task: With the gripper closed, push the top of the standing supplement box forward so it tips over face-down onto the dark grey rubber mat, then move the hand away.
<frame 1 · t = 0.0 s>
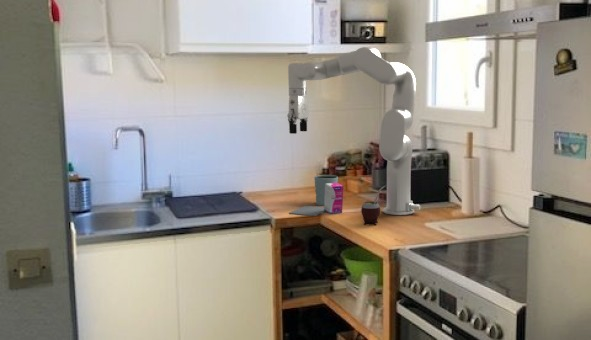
hand: (298, 132, 279), 31 cm above the worktop, tool pointing down, fingers open, 9 cm apart
supplement box: (333, 212, 266), on the worktop, touching mat
mate gourd: (372, 224, 245), on the worktop
mat: (310, 211, 268), on the worktop
grey plant pot: (326, 204, 282), on the worktop
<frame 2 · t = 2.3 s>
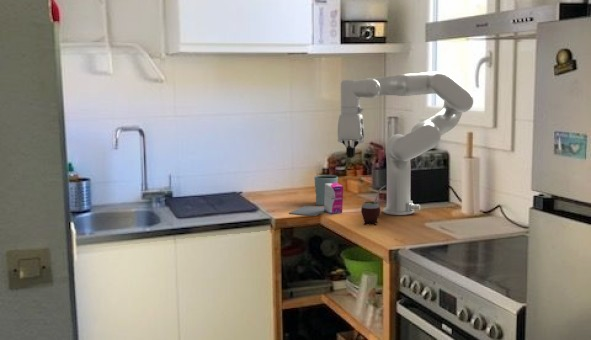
hand: (350, 157, 258), 23 cm above the worktop, tool pointing down, fingers closed
nothing on the worktop moved.
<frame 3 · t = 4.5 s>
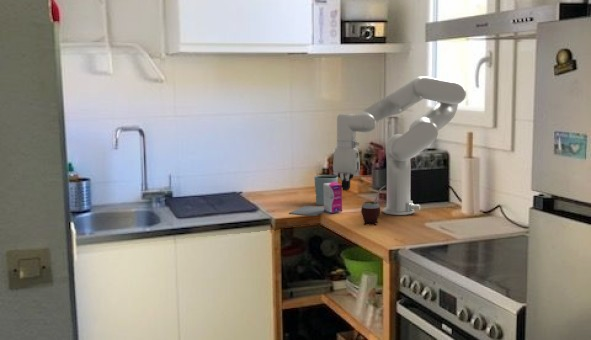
hand: (345, 189, 261), 10 cm above the worktop, tool pointing down, fingers closed
supplement box: (333, 211, 266), on the worktop, touching gripper, mat
everything else where it was.
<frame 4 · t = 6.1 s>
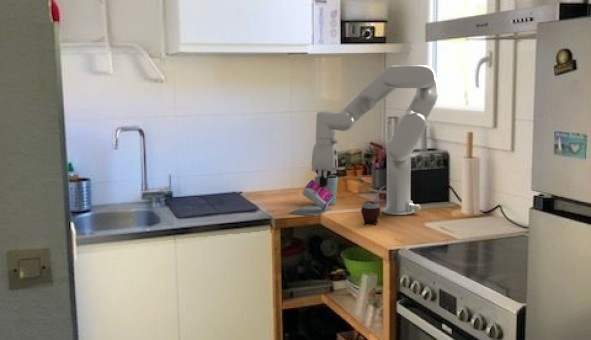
hand: (323, 186, 265), 10 cm above the worktop, tool pointing down, fingers closed
supplement box: (329, 203, 266), point 4 cm above the worktop, touching gripper, mat
everything else where it was.
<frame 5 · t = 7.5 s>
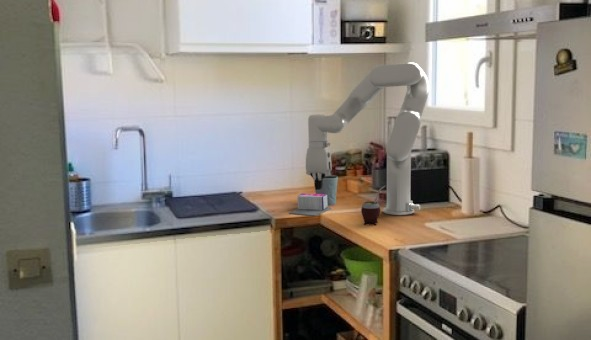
hand: (318, 189, 267), 9 cm above the worktop, tool pointing down, fingers closed
supplement box: (326, 201, 269), point 3 cm above the worktop, touching mat
everything else where it was.
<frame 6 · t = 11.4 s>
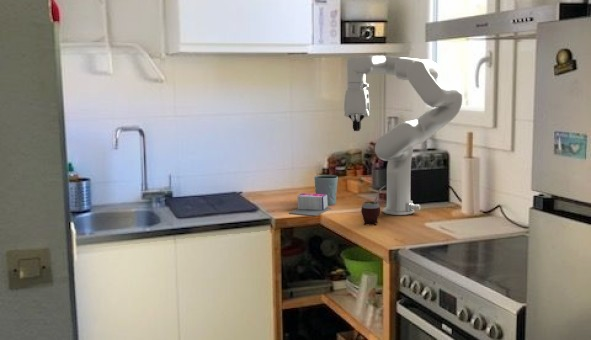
hand: (356, 130, 272), 32 cm above the worktop, tool pointing down, fingers closed
nothing on the worktop moved.
at the end: supplement box tilted 92°; supplement box inside the target area (6.5 cm from its centre), point 3.4 cm above the worktop; the gripper is holding nothing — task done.
